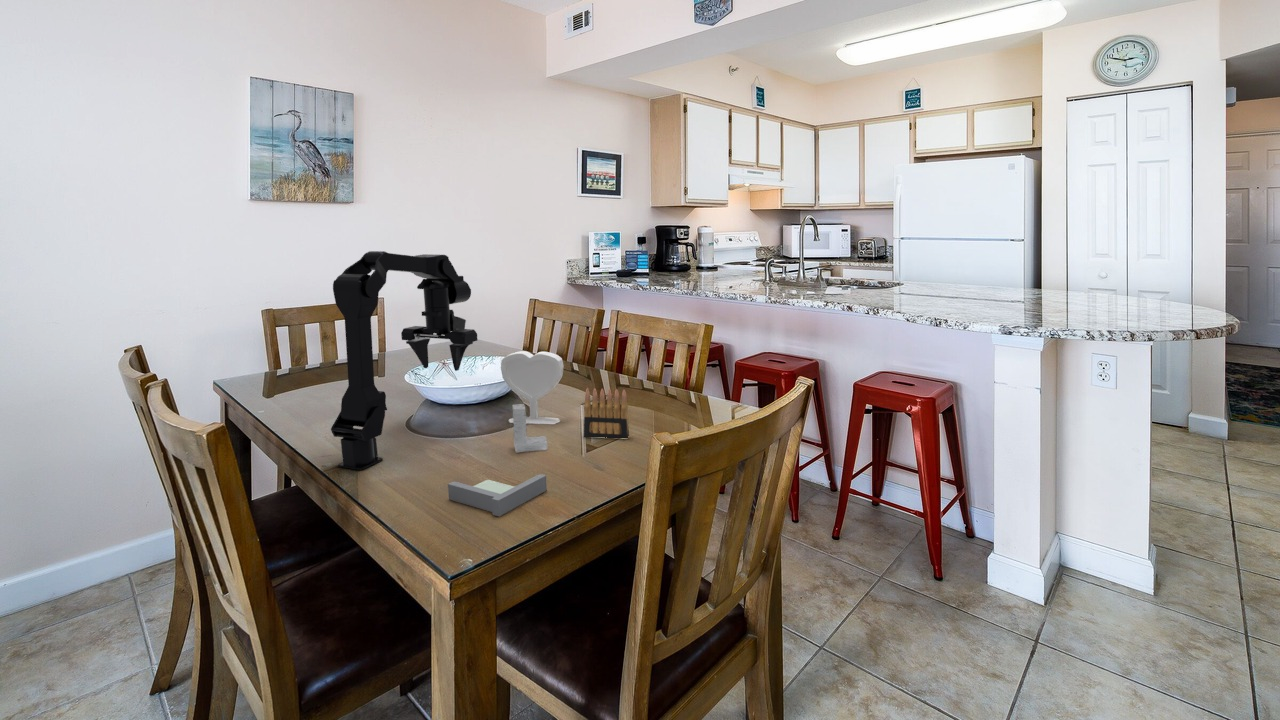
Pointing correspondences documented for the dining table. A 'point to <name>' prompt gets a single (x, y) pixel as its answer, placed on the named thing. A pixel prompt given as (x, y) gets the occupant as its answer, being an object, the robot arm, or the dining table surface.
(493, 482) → the mat
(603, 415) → the ammunition clip
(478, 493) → the corner bracket
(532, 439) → the white l-shaped block
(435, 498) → the dining table surface
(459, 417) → the dining table surface
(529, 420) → the heart sculpture
